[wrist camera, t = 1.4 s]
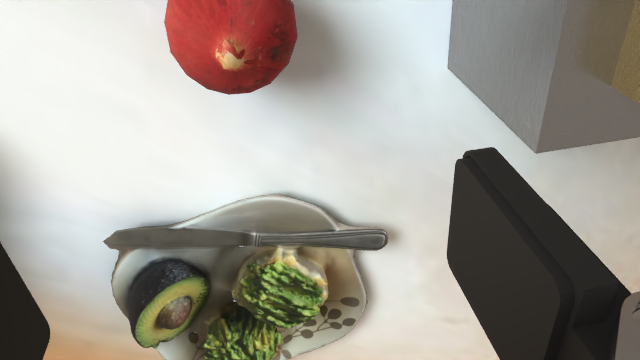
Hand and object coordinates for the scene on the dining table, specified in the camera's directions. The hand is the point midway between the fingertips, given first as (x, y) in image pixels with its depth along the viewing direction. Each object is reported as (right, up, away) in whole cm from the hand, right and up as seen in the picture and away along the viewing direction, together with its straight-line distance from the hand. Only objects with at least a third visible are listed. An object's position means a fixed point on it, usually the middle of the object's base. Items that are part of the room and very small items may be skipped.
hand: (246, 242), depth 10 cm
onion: (-3, +10, +15) cm, 19 cm away
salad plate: (-5, -6, +27) cm, 28 cm away
